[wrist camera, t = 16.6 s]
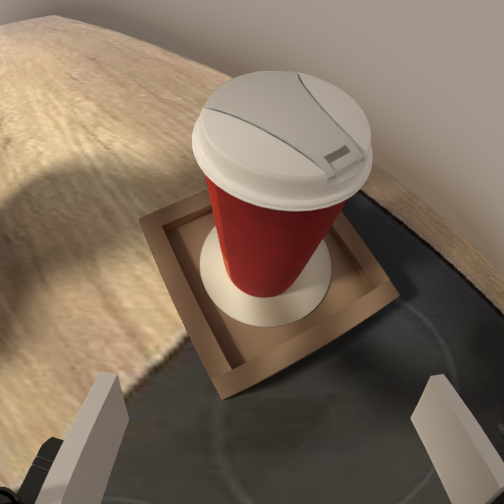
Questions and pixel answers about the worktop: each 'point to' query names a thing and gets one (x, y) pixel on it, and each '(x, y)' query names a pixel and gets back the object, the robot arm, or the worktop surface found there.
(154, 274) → the worktop surface
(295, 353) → the wooden coaster holder
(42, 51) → the worktop surface
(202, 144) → the paper cup
